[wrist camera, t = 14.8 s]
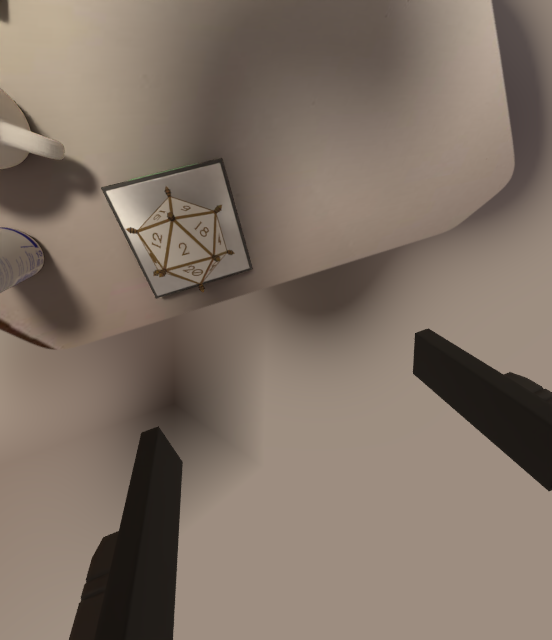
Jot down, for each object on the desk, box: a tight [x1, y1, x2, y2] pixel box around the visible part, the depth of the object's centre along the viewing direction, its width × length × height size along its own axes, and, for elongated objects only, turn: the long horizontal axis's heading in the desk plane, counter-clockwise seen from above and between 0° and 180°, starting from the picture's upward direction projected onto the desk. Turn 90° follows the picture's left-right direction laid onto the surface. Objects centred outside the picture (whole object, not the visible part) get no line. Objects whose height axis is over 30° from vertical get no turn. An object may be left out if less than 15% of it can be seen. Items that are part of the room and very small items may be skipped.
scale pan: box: [106, 163, 250, 296], centre depth 29 cm, size 11×11×1 cm
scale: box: [101, 158, 253, 298], centre depth 30 cm, size 12×12×2 cm
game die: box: [126, 186, 235, 292], centre depth 25 cm, size 9×8×10 cm
